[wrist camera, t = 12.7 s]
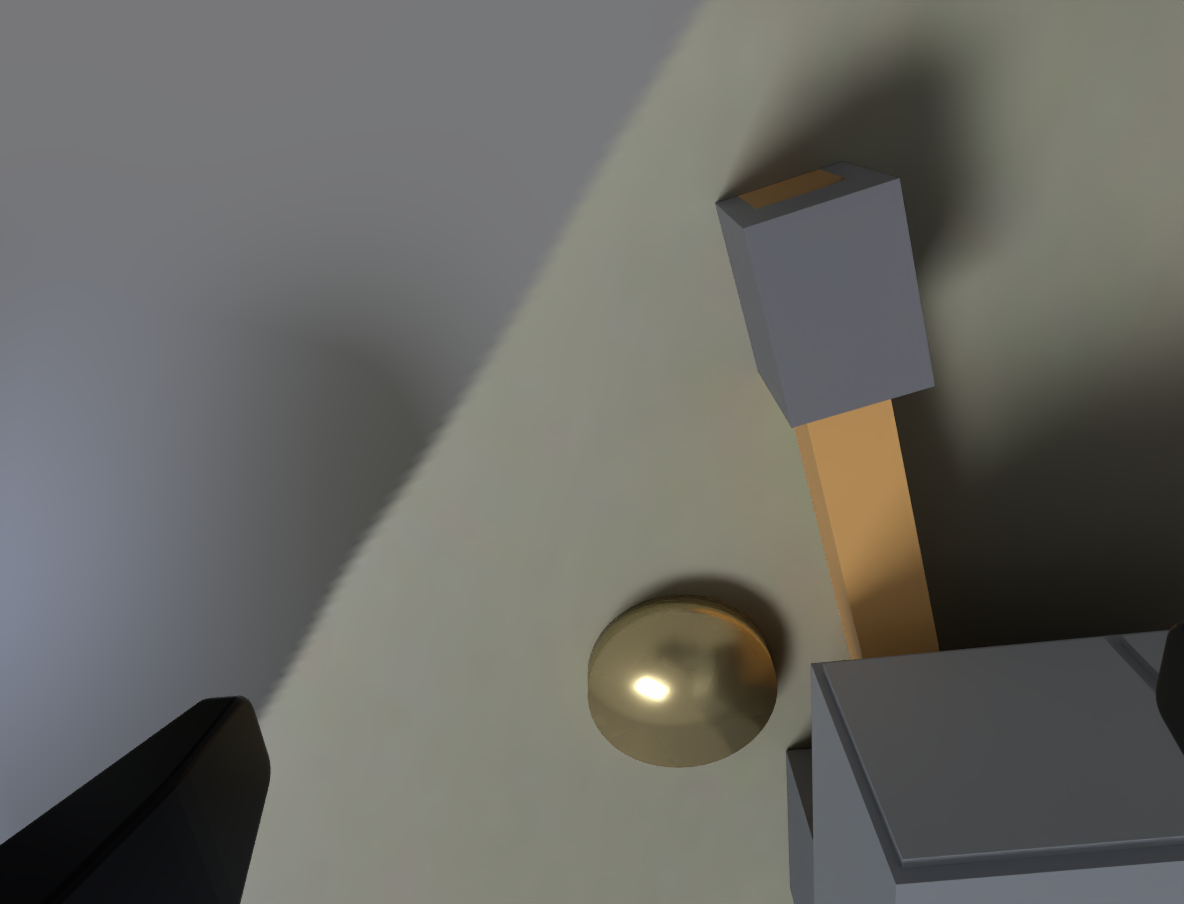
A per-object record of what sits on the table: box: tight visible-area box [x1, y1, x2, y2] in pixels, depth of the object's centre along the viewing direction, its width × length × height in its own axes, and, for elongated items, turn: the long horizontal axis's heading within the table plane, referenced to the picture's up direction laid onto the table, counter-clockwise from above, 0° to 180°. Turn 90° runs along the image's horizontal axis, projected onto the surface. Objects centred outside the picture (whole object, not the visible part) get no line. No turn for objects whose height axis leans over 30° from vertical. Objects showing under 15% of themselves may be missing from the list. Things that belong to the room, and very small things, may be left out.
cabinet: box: [786, 630, 1184, 904], centre depth 20 cm, size 13×11×9 cm
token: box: [588, 595, 777, 768], centre depth 23 cm, size 5×5×1 cm
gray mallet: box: [715, 162, 940, 660], centre depth 19 cm, size 3×15×4 cm, turn 18°
